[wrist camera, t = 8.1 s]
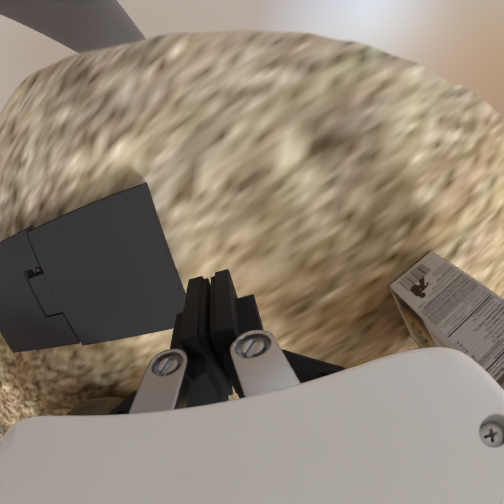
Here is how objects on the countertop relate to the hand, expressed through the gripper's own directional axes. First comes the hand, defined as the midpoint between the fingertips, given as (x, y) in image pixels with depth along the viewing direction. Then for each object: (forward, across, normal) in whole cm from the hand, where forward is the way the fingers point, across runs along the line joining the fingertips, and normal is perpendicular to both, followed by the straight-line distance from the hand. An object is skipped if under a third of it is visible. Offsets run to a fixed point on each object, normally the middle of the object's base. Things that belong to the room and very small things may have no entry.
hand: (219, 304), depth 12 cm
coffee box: (+11, -18, +13) cm, 25 cm away
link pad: (+11, +12, +1) cm, 16 cm away
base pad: (+11, +22, +1) cm, 25 cm away
